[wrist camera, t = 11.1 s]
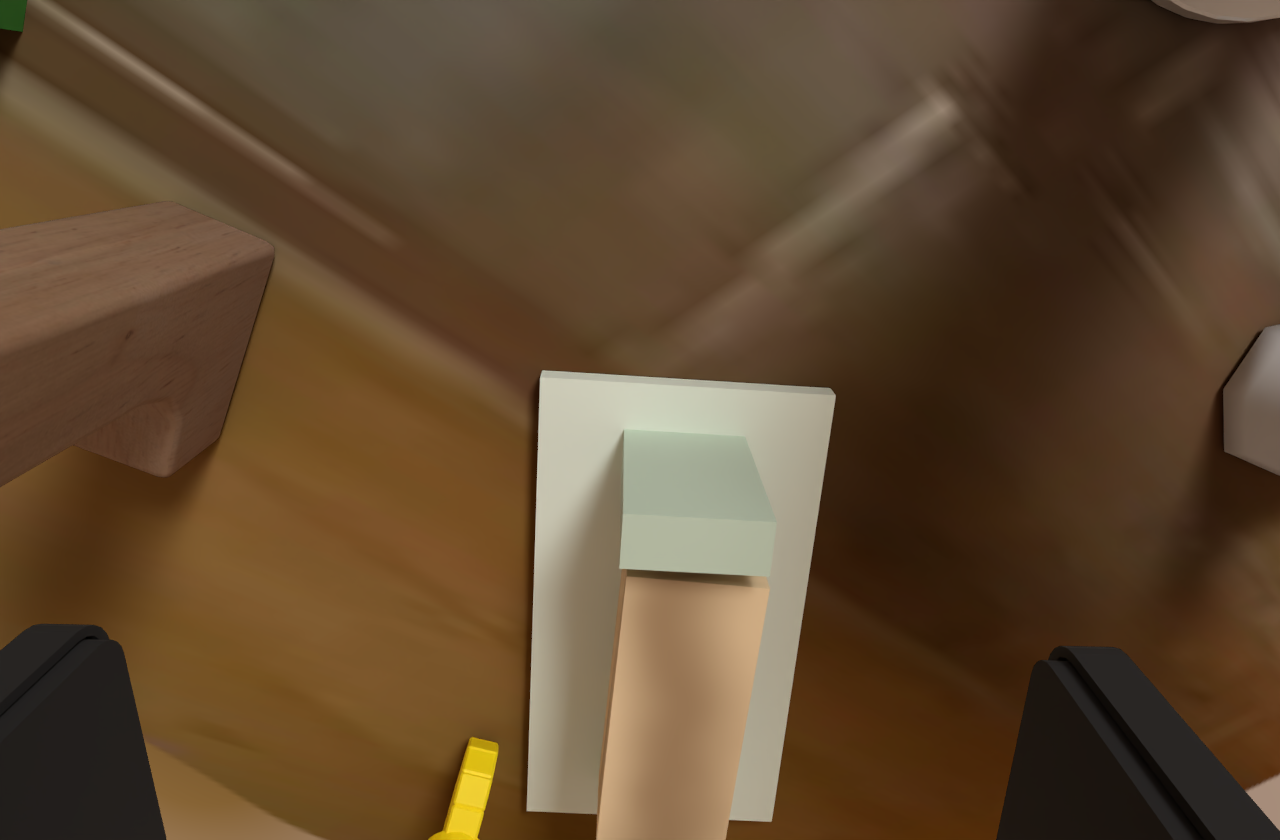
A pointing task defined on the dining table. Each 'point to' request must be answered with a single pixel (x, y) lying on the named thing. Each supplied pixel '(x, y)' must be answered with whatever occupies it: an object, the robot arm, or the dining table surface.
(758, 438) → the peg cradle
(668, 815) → the tan wooden bar
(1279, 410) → the flask
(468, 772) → the watch
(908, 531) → the dining table surface
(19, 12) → the green cereal box
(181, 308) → the wooden block
